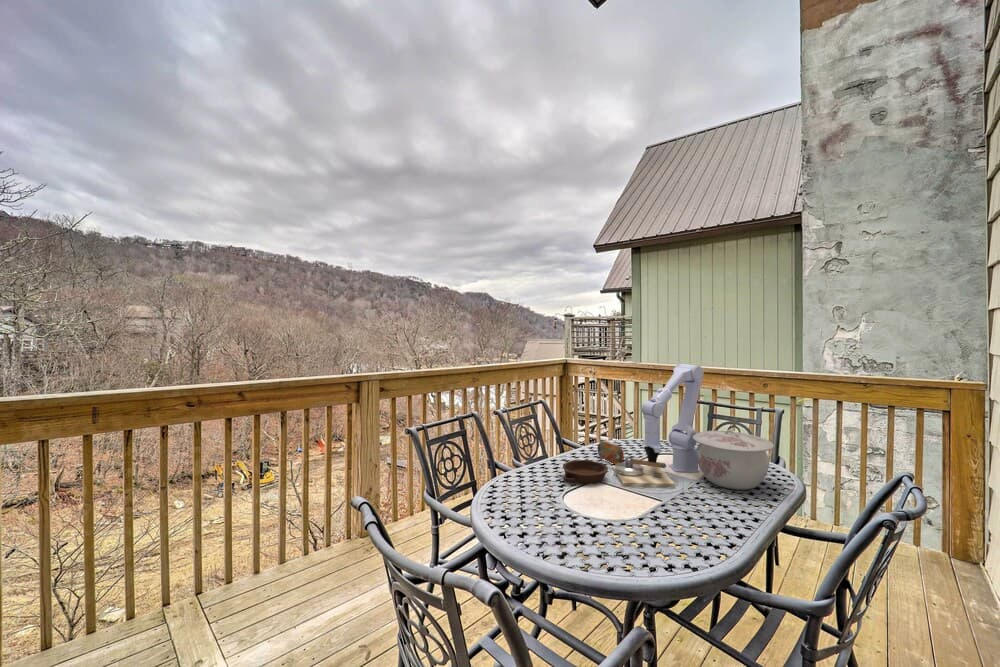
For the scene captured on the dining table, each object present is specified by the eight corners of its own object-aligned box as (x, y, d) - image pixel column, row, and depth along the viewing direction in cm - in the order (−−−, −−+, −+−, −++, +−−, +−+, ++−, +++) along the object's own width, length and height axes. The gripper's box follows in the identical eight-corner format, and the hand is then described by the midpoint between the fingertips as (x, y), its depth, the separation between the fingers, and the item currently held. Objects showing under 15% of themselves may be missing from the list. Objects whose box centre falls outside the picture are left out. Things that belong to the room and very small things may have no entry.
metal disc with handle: (612, 473, 171) (612, 460, 171) (617, 465, 181) (617, 452, 181) (664, 481, 163) (664, 467, 163) (667, 472, 172) (667, 459, 172)
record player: (658, 469, 181) (658, 465, 181) (674, 487, 161) (674, 483, 161) (612, 469, 182) (612, 465, 182) (623, 486, 162) (623, 482, 162)
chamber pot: (771, 504, 146) (771, 443, 146) (684, 486, 162) (685, 431, 162) (776, 479, 169) (776, 427, 168) (700, 466, 185) (700, 418, 184)
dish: (619, 478, 172) (619, 465, 172) (586, 492, 157) (586, 479, 157) (583, 467, 185) (584, 455, 185) (549, 479, 170) (549, 467, 170)
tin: (597, 457, 197) (597, 439, 197) (602, 456, 199) (602, 438, 198) (619, 467, 184) (619, 447, 183) (625, 466, 185) (625, 447, 185)
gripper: (637, 427, 180) (637, 459, 181) (647, 436, 166) (647, 471, 166) (654, 427, 180) (654, 459, 180) (666, 436, 165) (665, 471, 166)
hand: (652, 465), depth 173 cm, fingers closed
